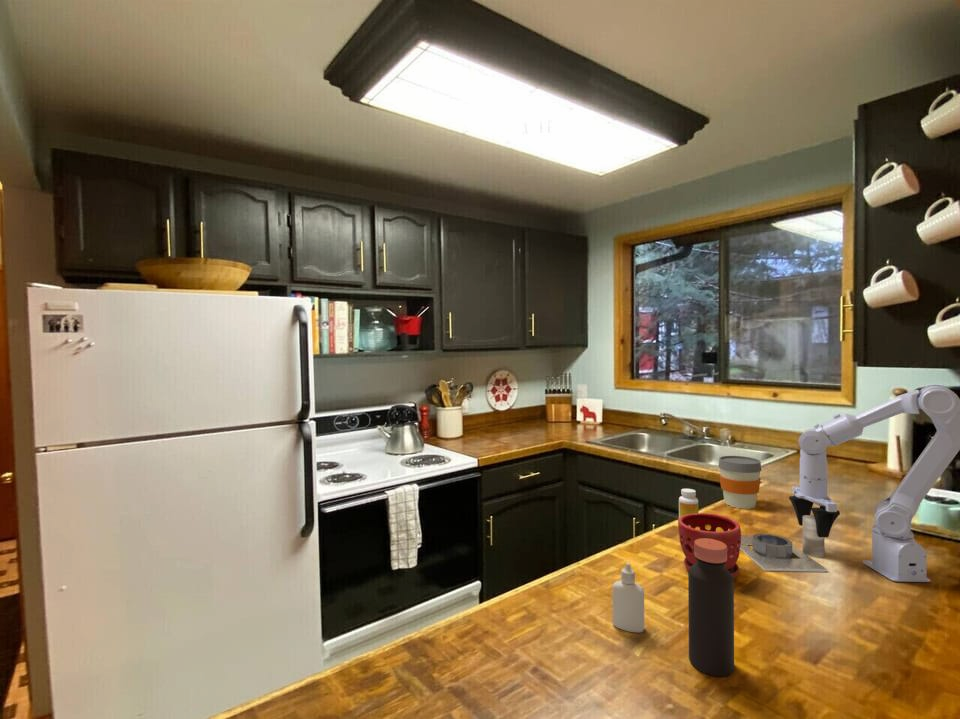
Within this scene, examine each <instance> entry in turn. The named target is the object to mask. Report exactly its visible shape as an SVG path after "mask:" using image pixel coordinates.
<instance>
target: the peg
mask: <svg viewBox="0 0 960 719" xmlns="http://www.w3.org/2000/svg"><path fill="white" fill-rule="evenodd" d="M825 548H826V547H825V537H818V535H817V530H816V521H815V518H814V515H813V514H812V515H811V514H810V515H804V516H803V526H802V552H803V553H805V554H806V555H807V556H809V557H810V558H819V559H820V558H825V554H826V553H825Z"/></svg>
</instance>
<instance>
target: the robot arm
mask: <svg viewBox="0 0 960 719" xmlns="http://www.w3.org/2000/svg"><path fill="white" fill-rule="evenodd" d="M919 410H922V411H923V412H924V413H925V414H926V415H927V416H928V417H929V418H930V420H931V421H932V424H933V425H934V427H935V429H936V432H935V434H934V435H933V436H932V437H931V439H930V441H929V442H928V443H927V444H926V446H925V448H924V449H923V451H922V452H921V453H920V455H919V456H918V458H917V459H916V460H915V462H914V463H913V465H911V467H910V469H909V470H908V471H907V473H906V474H905V476H904V477H903V479H902V480H901V481H900V483H899V484H898V486H897V487H896V488H895V489H894V490H893V491H891V493H890V494H889V496H888V497H886V498H885V499H883V500H880V501H878V502H877V503H876V505H875V507H874V512H875V515H874V518H873V519H874V521H873V522H874V525H873V526H872V527H871V528H872V531H871V534H872V535H871V536H872V537H871V540H872V541H871V543H872V545H871V548H872V549H871V550H872V551H871V552H872V554H871V556H872V557H871V558H872V559H871V560H862V563H863V564H864V565H865V566H867V567H869V568H871V569H872V570H874V571H876V572H877V573H879V574H880V575H882V576H884V577H886V578H887V579H889V580H890V581H892V582H903V583H904V582H906V583H907V582H908V583H912V582H914V583H931V582H932V581H931V579H930V578H928V577H927V565H928V564H927V557H928V556H927V552H926V550H925V548H924V547H922V545H921V544H919V543H918V542H917V541H916V539H915V536H914V532H913V531H912V525H913V524H912V520H913V518H914V517H915V515H916V514H917V512H918V510H919V507H920V505H921V503H922V501H923V500H924V499H925V498H926V497H927V495H928V493H930V491H931V489H932V488H933V487H934V486H935V484H936V483H937V481H938V479H940V477H941V476H942V475H943V473H944V471H946V470H947V468H948V466H949V465H950V464H951V463H952V461H953V460H954V458H955V457H956V455H957V454H958V452H960V397H959V396H958V395H957V394H956V393H955V391H952V390H951V389H950V388H949V387H946V386H945V385H944V386H943V385H940V384H931V385H927V386H924V387H922V388H921V389H920V390H919V389H915V390H911V391H909V392H908V391H907V392H906V393H903V394H900V395H896V396H895V397H893V398H891V399H888V400H886V401H884V402H882V403H879V404H878V405H876V406H873V407H871V408H869V409H867V410H864V411H863V412H861V413H858V414H856V415H853V414H848V413H844V414H842V415H841V414H840V413H837V414H835V415H833V418H832V419H829V420H827V421H826V422H823V423H821V424H819V423H816V424H814V425H813V427H814V428H808V429H806V430H804V432H802V434H801V435H799V438H798V445H799V448H800V450H799V454H800V457H799V486H798V485H797V486H796V485H795V486H793V485H792V486H791V487H792V488H791V492H792V494H793V496H792V495H789V496H788V499H789V501H790V502H791V505H792V507H793V508H794V511H795V515H796V518H797V523H798V526H802V527H803V516H804V515H811V514H812V516H814V518H815V521H816V530H817V535H818V537H824V538H829V537H830V533H831V530H832V527H833V525H834V522H835V521H836V520H837V518H838V517H839V516H840V514H841V512H840V510H838V503H836V502H834V501H833V499H831V498H830V497H829V495H828V459H827V448H828V447H835V446H838V445H840V444H843V443H845V442H848V441H850V440H853V439H855V438H857V437H860V436H862V434H863V432H864V429H865V428H867V427H869V426H871V425H874V424H877V423H880V422H882V421H884V420H888V419H890V418H892V417H895V416H897V415H901V414H911V415H913V414H914V415H920V411H919ZM814 504H815V505H817V506H819V507H813V506H814Z"/></svg>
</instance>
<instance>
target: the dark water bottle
mask: <svg viewBox="0 0 960 719" xmlns="http://www.w3.org/2000/svg"><path fill="white" fill-rule="evenodd" d="M694 555H695V559H696V563H695V564H694V565H692V566H691V567H690V568H689V570H688V569H687V570H688V571H687V572H688V573H687V574H688V575H687V577H688V578H687V579H688V580H687V584H688V590H687V591H688V595H687V596H688V659H689V662H690V663H691V665H693V667H694V668H696V669H697V670H698V671H700V672H702V673H704V674H707V675H709V676H713V677H725V676H729V675H731V674H732V673H733V671H734V670H735V609H734V608H735V580H734V579H735V578H733V576H732V574H731V573H730V572H729V571H728V570H727V569H726V568H725V564H726V563H727V545H726V544H724V543H723V542H721V541H718V540H714V539H708V538H701V539H697V540H695V541H694Z"/></svg>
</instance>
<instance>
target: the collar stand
mask: <svg viewBox="0 0 960 719" xmlns="http://www.w3.org/2000/svg"><path fill="white" fill-rule="evenodd" d="M748 545H753V546H752V547H751V546H748ZM740 549H741V550H742V551H743V552H742V551H741V550H740V551H741V552H742V553H743V554H745V555H746V556H747V557H748V556H749V557H750V558H751V561H753V562H754V563H755V564H756V565H757V566H758V567H760V568H761V569H762V570H763V571H764V572H805V573H806V572H811V573H814V572H815V573H818V572H819V573H828V568H826V567H825V566H823V565H822V564H820V563H819V562H817V561H816V560H815V559H813V557H811V556H808V555H806V554H805V553H803V550H800V549H799V548H797V547H796V546H795V545H794V544H793V541H792V540H790V539H788V538H786V537H783V536H781V535H778V534H771V533H756V534H753V535H752V534H751V535H749V534H745V535H744V534H741V545H740ZM793 556H794V557H796V558H793ZM749 557H748V558H749Z"/></svg>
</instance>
